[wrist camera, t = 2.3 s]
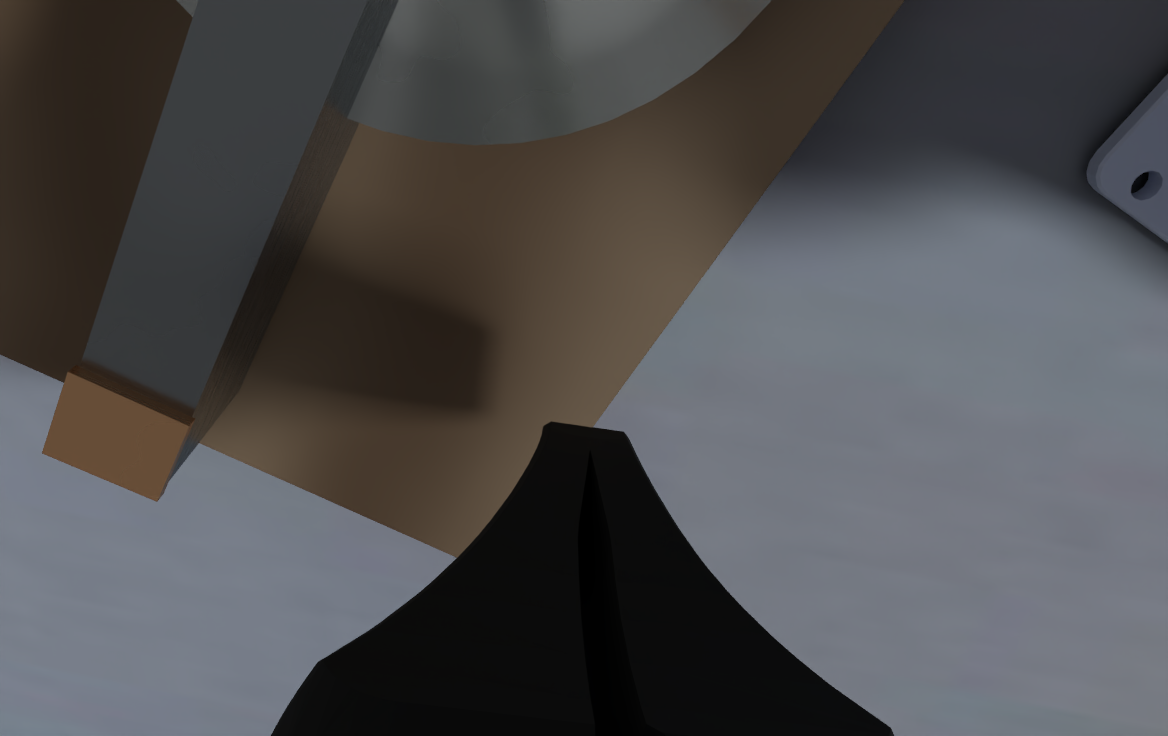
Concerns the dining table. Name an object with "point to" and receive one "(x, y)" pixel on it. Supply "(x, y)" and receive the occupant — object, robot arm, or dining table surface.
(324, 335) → the dial board
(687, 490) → the dining table surface
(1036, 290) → the dining table surface
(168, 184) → the dial
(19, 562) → the dining table surface
